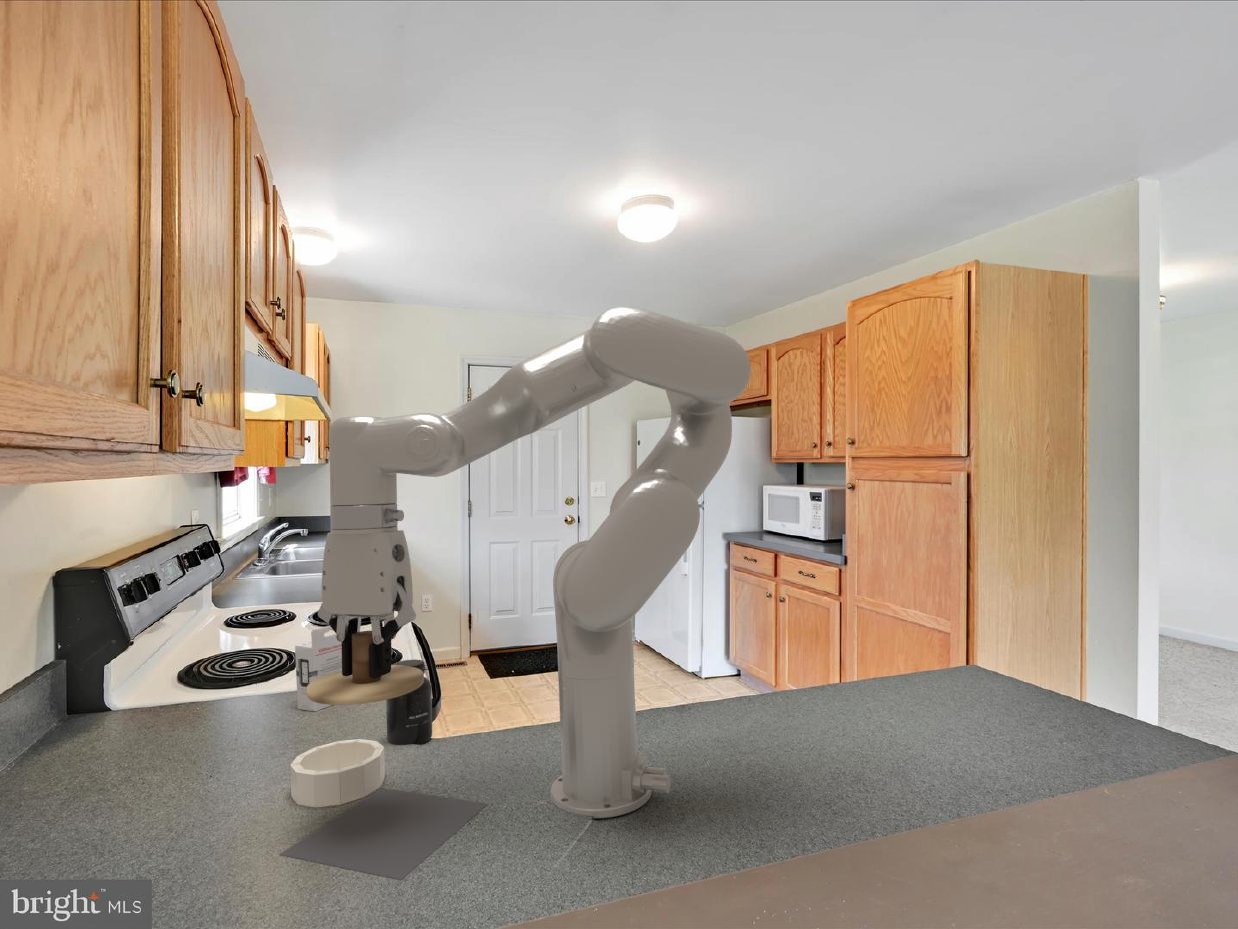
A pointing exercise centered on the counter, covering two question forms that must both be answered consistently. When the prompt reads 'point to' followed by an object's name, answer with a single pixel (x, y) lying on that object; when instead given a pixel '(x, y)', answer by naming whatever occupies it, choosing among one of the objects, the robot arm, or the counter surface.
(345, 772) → the bowl
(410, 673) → the lid
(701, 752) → the counter surface
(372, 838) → the mat
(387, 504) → the robot arm
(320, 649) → the ink box
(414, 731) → the supplement bottle
